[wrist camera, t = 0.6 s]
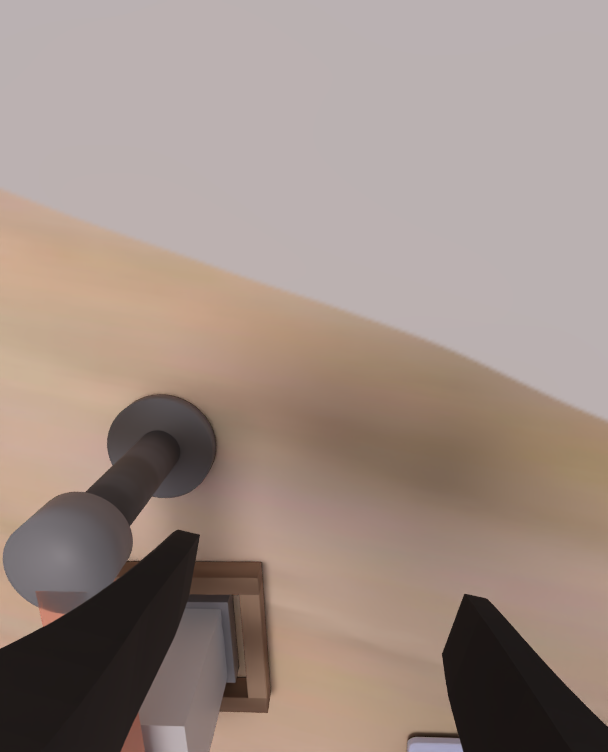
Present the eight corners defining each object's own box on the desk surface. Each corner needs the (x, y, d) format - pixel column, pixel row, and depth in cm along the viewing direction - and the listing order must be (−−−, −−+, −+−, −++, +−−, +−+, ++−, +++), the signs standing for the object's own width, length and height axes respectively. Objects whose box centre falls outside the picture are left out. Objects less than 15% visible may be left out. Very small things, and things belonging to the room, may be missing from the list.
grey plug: (239, 666, 25) (206, 815, 19) (149, 664, 26) (84, 810, 19) (231, 588, 24) (193, 718, 17) (136, 587, 24) (62, 715, 18)
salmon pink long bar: (183, 863, 19) (169, 918, 17) (108, 860, 19) (88, 914, 17) (125, 491, 14) (100, 520, 13) (28, 491, 14) (-8, 520, 13)
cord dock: (270, 692, 26) (248, 854, 19) (123, 688, 26) (49, 844, 19) (249, 392, 21) (209, 460, 14) (71, 396, 22) (-51, 462, 15)
